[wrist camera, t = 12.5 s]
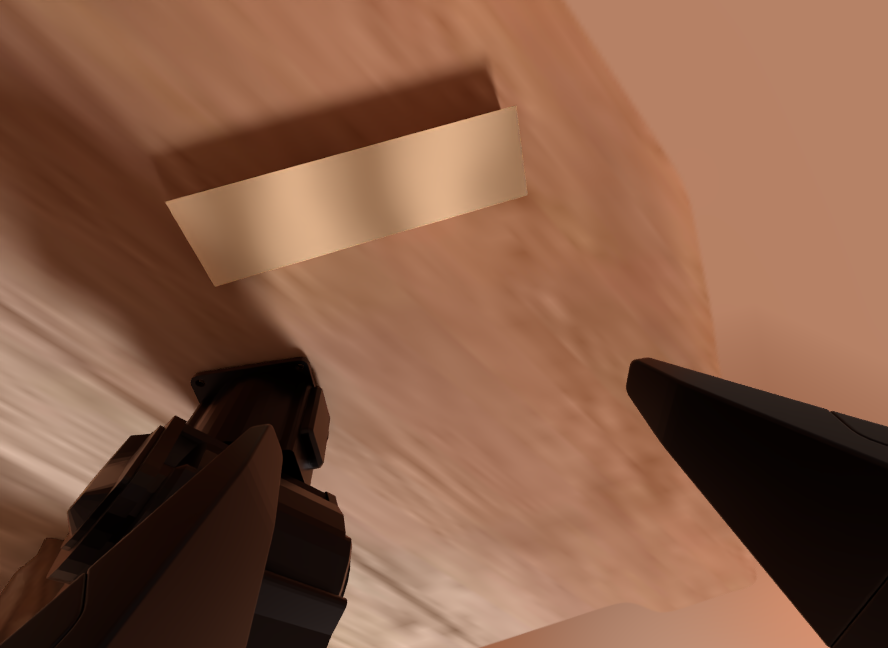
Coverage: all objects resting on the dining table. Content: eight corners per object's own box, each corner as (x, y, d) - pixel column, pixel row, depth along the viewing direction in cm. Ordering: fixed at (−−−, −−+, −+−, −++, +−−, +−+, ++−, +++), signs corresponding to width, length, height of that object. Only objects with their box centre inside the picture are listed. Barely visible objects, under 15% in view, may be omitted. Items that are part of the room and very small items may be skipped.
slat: (229, 274, 19) (214, 286, 17) (186, 197, 17) (164, 201, 15) (513, 192, 20) (527, 195, 18) (501, 110, 18) (516, 105, 16)
